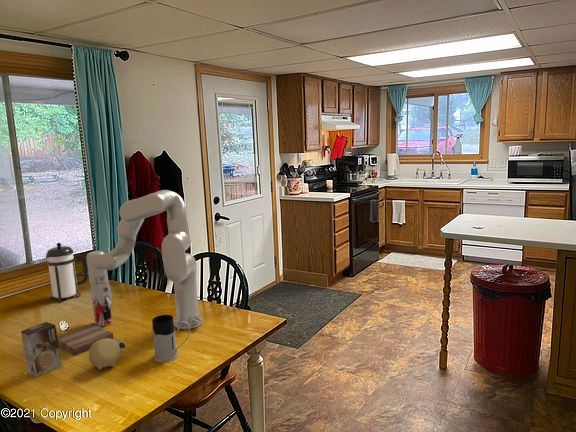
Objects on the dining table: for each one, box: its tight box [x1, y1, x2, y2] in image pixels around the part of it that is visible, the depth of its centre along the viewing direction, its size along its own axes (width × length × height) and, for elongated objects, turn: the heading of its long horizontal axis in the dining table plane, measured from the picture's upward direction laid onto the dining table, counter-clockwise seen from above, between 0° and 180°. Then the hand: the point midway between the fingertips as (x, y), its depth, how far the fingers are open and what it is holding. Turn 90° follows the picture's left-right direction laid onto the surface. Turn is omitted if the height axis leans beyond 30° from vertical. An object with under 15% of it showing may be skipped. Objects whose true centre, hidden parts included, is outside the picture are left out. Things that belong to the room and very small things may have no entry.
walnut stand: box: [57, 323, 115, 357], centre depth 173 cm, size 16×16×3 cm
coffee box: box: [20, 321, 63, 378], centre depth 152 cm, size 9×6×16 cm
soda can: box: [92, 300, 113, 327], centre depth 190 cm, size 7×7×12 cm
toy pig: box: [88, 338, 126, 370], centre depth 153 cm, size 10×12×11 cm
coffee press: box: [44, 242, 89, 303], centre depth 226 cm, size 17×16×30 cm
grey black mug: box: [151, 314, 191, 363], centre depth 158 cm, size 9×14×15 cm, turn 88°
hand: (103, 316), depth 191 cm, fingers closed on soda can, 7 cm apart
